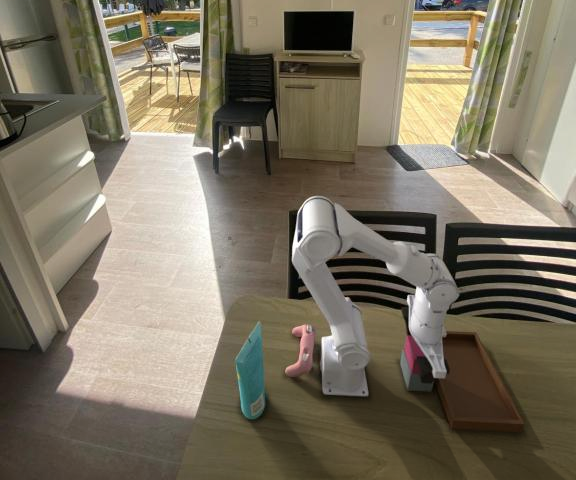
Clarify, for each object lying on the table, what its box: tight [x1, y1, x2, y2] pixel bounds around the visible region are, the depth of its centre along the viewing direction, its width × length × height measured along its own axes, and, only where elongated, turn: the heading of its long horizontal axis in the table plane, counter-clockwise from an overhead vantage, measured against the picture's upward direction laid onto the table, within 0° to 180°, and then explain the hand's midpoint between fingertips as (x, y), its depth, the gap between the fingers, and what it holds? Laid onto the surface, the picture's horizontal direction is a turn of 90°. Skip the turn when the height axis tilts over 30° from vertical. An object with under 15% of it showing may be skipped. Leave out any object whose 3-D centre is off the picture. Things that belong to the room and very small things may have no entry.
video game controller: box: [284, 323, 317, 378], centre depth 68 cm, size 10×5×7 cm, turn 168°
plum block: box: [403, 334, 425, 374], centre depth 62 cm, size 4×4×4 cm
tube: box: [234, 320, 266, 420], centre depth 57 cm, size 7×5×19 cm, turn 156°
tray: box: [434, 330, 525, 433], centre depth 64 cm, size 13×16×3 cm
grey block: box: [399, 347, 435, 392], centre depth 64 cm, size 5×5×5 cm
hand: (418, 359), depth 63 cm, fingers open, 7 cm apart
